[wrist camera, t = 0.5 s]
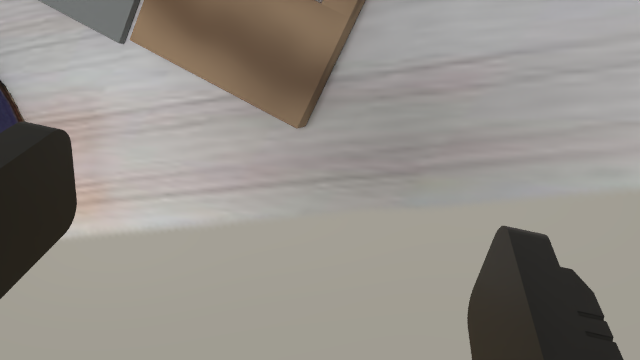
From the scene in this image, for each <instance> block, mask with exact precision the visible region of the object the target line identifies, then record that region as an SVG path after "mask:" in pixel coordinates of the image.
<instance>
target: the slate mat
mask: <svg viewBox="0 0 640 360" xmlns="http://www.w3.org/2000/svg"><path fill="white" fill-rule="evenodd" d="M39 1H41V2H43V3H44V4H46V5H48V6H50V7H52V8H54V9H56V10H58V11H59V12H61V13H63V14H65V15H67V16H69V17H71V18H73V19H75V20H76V21H78V22H80V23H82V24H84V25H86V26H88V27H90V28H91V29H93V30H95V31H97V32H99V33H101V34H103V35H105V36H106V37H108V38H110V39H112V40H114V41H116V42H118V43H122V44H124V43H125V40H126V37H127V34H128V32H129V29H130V26H131V23H132V20H133V18H134V15H135V12H136V9H137V7H138V4H139V1H140V0H39Z"/></svg>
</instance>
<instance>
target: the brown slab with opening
mask: <svg viewBox="0 0 640 360" xmlns="http://www.w3.org/2000/svg"><path fill="white" fill-rule="evenodd" d="M364 2H365V0H323V1H322V4H321V3H319V2H317V1H315V0H144V2H143V5H142V7H141V10H140V13H139V16H138V18H137V21H136V24H135V27H134V29H133V32H132V35H131V38H130V40H131V41H133V42H134V43H136V44H138V45H140V46H142V47H144V48H146V49H148V50H150V51H151V52H153V53H155V54H157V55H159V56H161V57H163V58H165V59H167V60H168V61H170V62H172V63H174V64H176V65H178V66H180V67H182V68H184V69H185V70H187V71H189V72H191V73H193V74H195V75H197V76H199V77H201V78H202V79H204V80H206V81H208V82H210V83H212V84H214V85H216V86H218V87H219V88H221V89H223V90H225V91H227V92H229V93H231V94H233V95H235V96H236V97H238V98H240V99H242V100H244V101H246V102H248V103H250V104H251V105H253V106H255V107H257V108H259V109H261V110H263V111H265V112H267V113H268V114H270V115H272V116H274V117H276V118H278V119H280V120H282V121H284V122H285V123H287V124H289V125H291V126H293V127H295V128H301V127H304V126H306V124H307V122H308V120H309V117H310V115H311V113H312V111H313V109H314V107H315V105H316V103H317V101H318V99H319V96H320V94H321V92H322V90H323V88H324V86H325V84H326V82H327V80H328V78H329V76H330V73H331V71H332V69H333V67H334V65H335V63H336V61H337V59H338V57H339V55H340V52H341V50H342V48H343V46H344V44H345V42H346V40H347V38H348V36H349V34H350V31H351V29H352V27H353V25H354V23H355V21H356V19H357V17H358V15H359V13H360V11H361V8H362V6H363V4H364Z"/></svg>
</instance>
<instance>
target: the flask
mask: <svg viewBox="0 0 640 360" xmlns="http://www.w3.org/2000/svg"><path fill="white" fill-rule="evenodd" d="M18 122H24V120H23V118H22V116H21V114H20V112H19V110H18V107H17V106H16V105H15V103H14V100H13V98H12V96H11V95H10V93H9V92H8V91H7V90H6V87H5V86H4V84H2V83H1V82H0V133H1V132H3V131H4V130H6V129H8V128H9V127H11V126H13V125H14V124H16V123H18Z"/></svg>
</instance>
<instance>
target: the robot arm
mask: <svg viewBox="0 0 640 360" xmlns="http://www.w3.org/2000/svg"><path fill="white" fill-rule="evenodd" d="M76 205H77V199H76V189H75V178H74V168H73V158H72V147H71V141H70V137H69V135H68V134H67V133H66V132H65V131H64V130H61V129H56V128H51V127H47V126H42V125H37V124H33V123H28V122H18V123H16V124H14V125H13V126H11V127H9V128H8V129H6V130H4V131H3V132H1V133H0V299H1V298H2V297H3V296H4V295H5V294H6V293H7V292H8V291H9V290H10V289H11V288H12V287H13V285H15V284H16V282H18V280H19V279H21V277H22V276H23V275H24V274H25V273H26V272H27V271H28V270H29V269H30V268H31V267H32V266H33V265H34V264H35V263H36V262H37V261H38V260H39V259H40V258H41V257H42V256H43V255H44V254H45V253H46V252H47V251H48V250H49V249H50V248H51V247H52V246H53V245H54V244H55V243H56V242H57V241H58V240H59V239H60V238H61V237H62V236H63V235H64V234H65V233H66V232H67V230H68V229H69V227H70V225H71V224H72V221H73V219H74V216H75V212H76ZM468 331H469V339H470V346H471V354H472V360H623V358H622V355H621V353H620V351H619V349H618V346H617V344H616V343H615V342H613V335H612V333H611V331H610V329H609V326H608V324H607V322H606V321H604V315H603V313H602V311H601V308H600V306H599V304H598V302H597V299H596V297H595V295H594V293H593V292H592V290H591V289H590V288H589V287H588V286H587V285H586V284H585V283H584V282H583V281H582V280H581V279H580V277H579V276H578V275H577V274H576V273H575V272H574V271H573V270H572V269H568V268H563V267H560V266H559V263H558V261H557V258H556V255H555V253H554V250H553V248H552V245H551V242H550V240H549V238H548V237H547V235H544V234H540V233H535V232H530V231H526V230H521V229H517V228H512V227H507V226H501V227H500V228H499V229H498V231H497V233H496V234H495V237H494V239H493V241H492V244H491V246H490V249H489V251H488V254H487V256H486V258H485V261H484V264H483V266H482V268H481V271H480V273H479V276H478V278H477V280H476V283H475V285H474V288H473V290H472V294H471V297H470V302H469V307H468Z"/></svg>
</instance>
